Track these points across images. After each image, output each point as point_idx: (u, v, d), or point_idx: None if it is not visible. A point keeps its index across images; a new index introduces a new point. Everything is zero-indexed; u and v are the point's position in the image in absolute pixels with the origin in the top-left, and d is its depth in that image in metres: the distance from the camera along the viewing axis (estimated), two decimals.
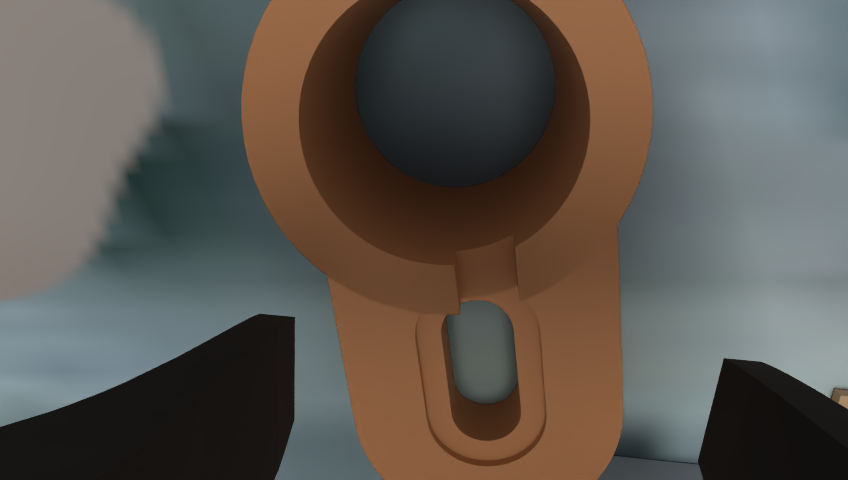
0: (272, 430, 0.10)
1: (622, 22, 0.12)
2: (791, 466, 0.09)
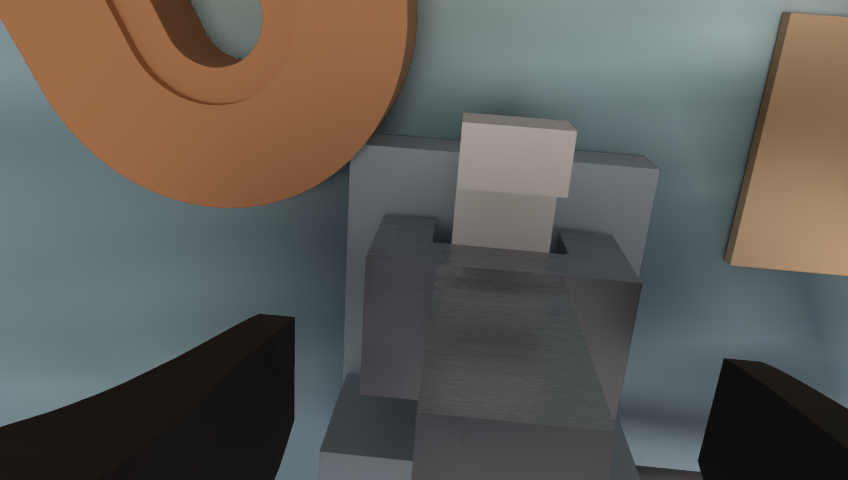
0: (272, 430, 0.10)
1: None
2: (791, 466, 0.09)
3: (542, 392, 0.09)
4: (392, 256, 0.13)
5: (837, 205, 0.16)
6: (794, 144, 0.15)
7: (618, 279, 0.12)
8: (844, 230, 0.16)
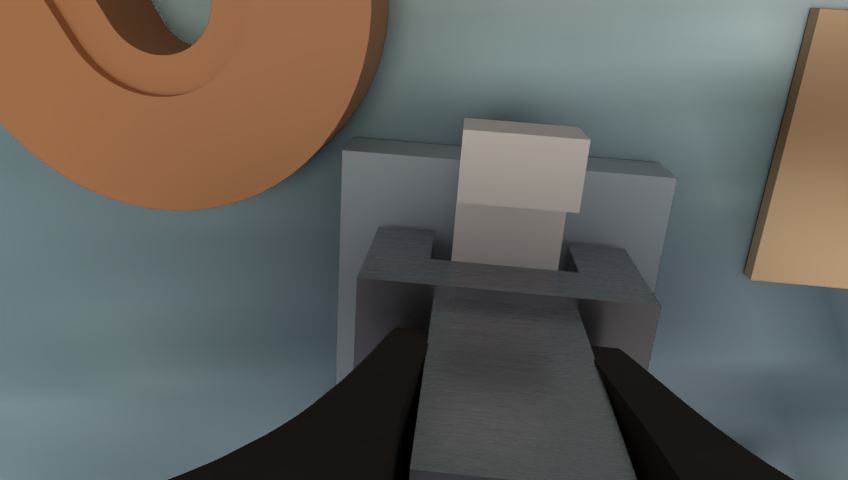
0: None
1: None
2: None
3: (554, 442, 0.08)
4: (386, 275, 0.12)
5: None
6: (821, 150, 0.14)
7: (634, 301, 0.11)
8: None
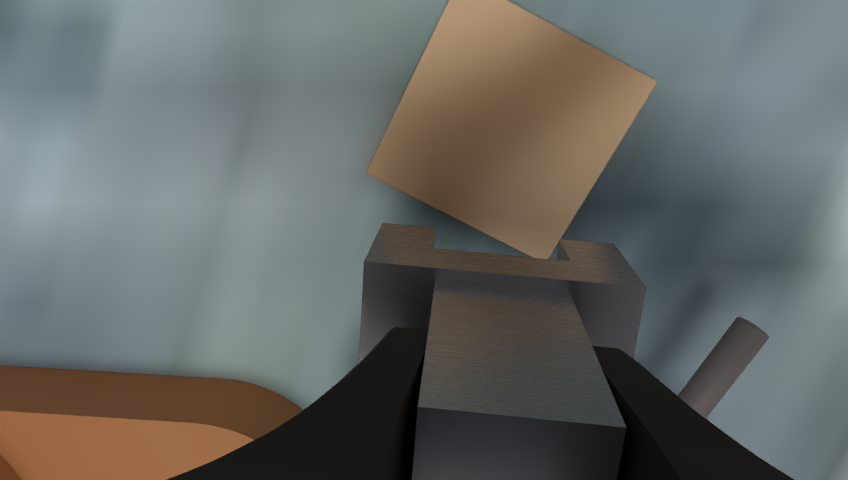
0: None
1: None
2: None
3: (547, 389, 0.09)
4: (392, 260, 0.12)
5: (529, 174, 0.19)
6: (465, 194, 0.19)
7: (621, 284, 0.12)
8: (553, 174, 0.19)
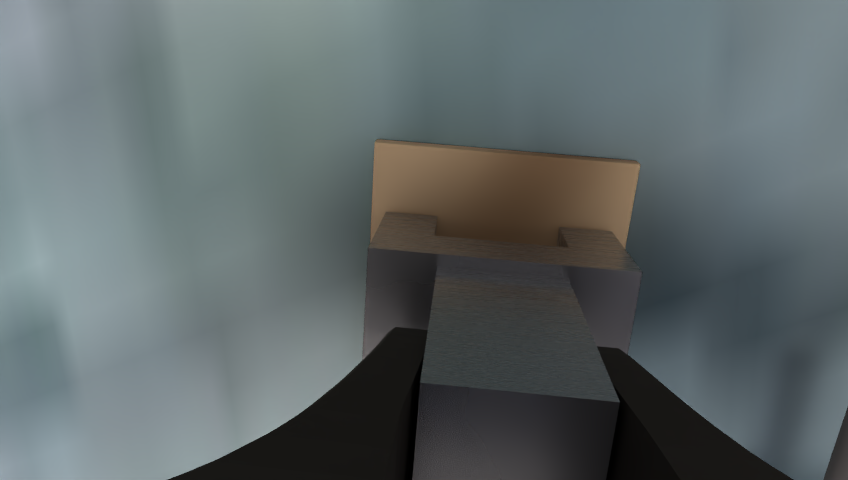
0: None
1: None
2: (613, 448, 0.09)
3: (544, 367, 0.09)
4: (395, 246, 0.13)
5: None
6: None
7: (618, 269, 0.12)
8: None
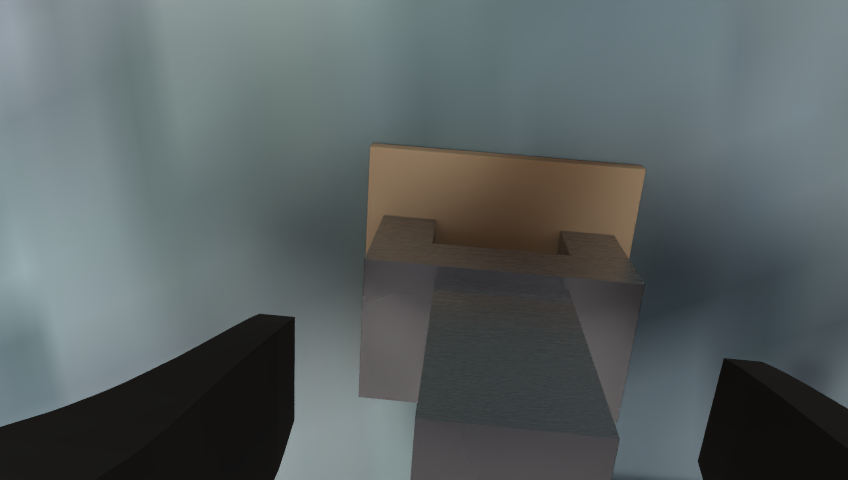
0: (272, 430, 0.10)
1: None
2: (791, 466, 0.09)
3: (542, 398, 0.09)
4: (392, 257, 0.13)
5: None
6: None
7: (620, 281, 0.12)
8: None
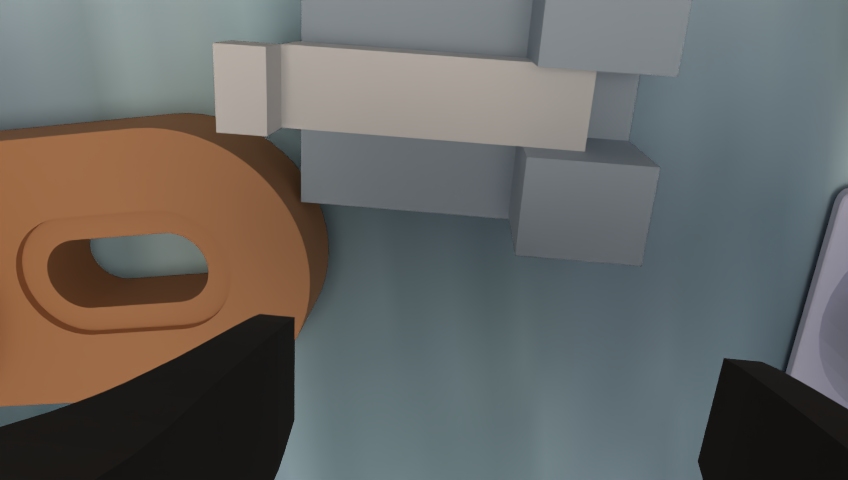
0: (272, 430, 0.10)
1: None
2: (791, 466, 0.09)
3: None
4: None
5: None
6: None
7: None
8: None
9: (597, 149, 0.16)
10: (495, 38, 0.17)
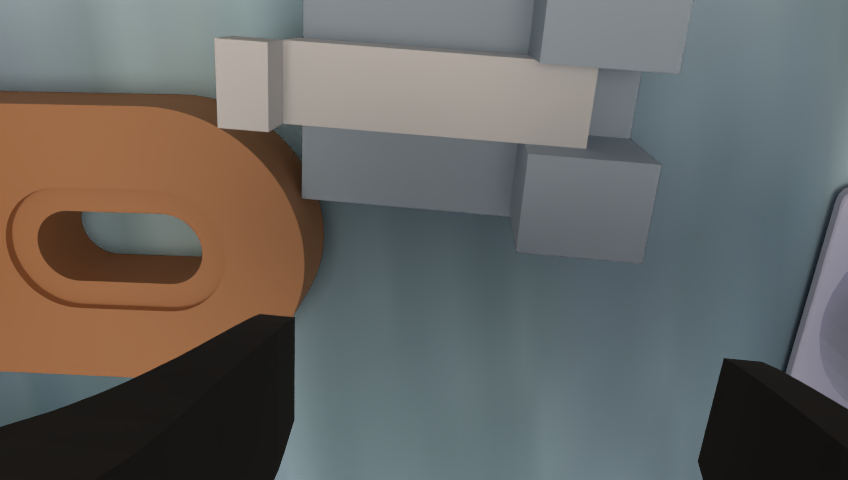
0: (272, 430, 0.10)
1: None
2: (791, 466, 0.09)
3: None
4: None
5: None
6: None
7: None
8: None
9: (598, 146, 0.16)
10: (497, 35, 0.17)
